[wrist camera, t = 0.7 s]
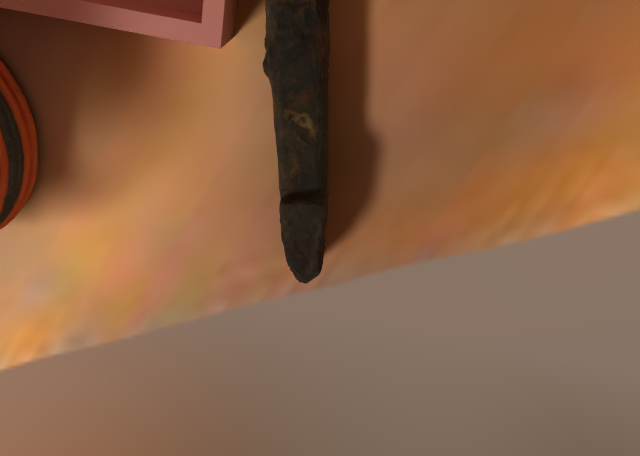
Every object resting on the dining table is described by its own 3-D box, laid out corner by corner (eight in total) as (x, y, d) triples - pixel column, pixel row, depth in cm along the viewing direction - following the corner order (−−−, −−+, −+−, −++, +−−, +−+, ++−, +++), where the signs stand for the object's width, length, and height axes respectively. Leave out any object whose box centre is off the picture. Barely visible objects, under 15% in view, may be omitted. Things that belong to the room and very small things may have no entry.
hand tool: (258, -72, 30) (241, -71, 26) (339, -70, 30) (334, -69, 26) (267, 258, 38) (255, 298, 34) (330, 261, 38) (325, 302, 34)
